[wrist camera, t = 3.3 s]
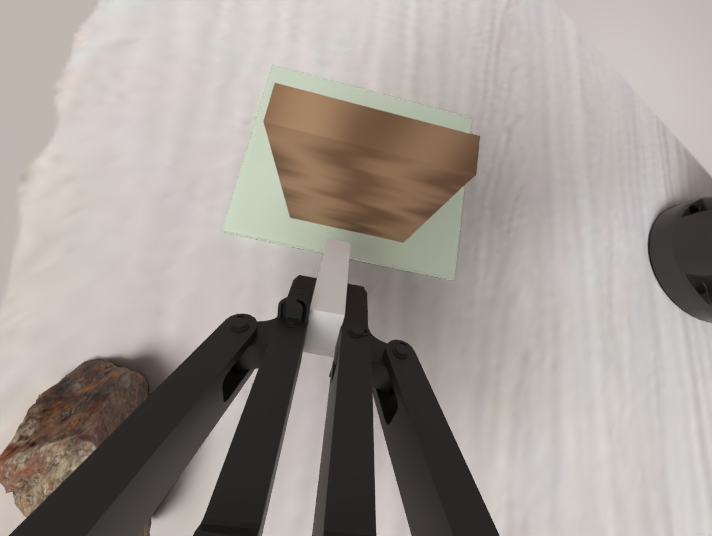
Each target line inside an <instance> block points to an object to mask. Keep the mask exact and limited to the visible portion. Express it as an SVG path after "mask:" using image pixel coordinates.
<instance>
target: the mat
mask: <svg viewBox="0 0 712 536" xmlns="http://www.w3.org/2000/svg"><path fill="white" fill-rule="evenodd" d="M275 83H278V84H282V85H286V86H290V87H294V88H297V89H301V90H305V91H309V92H313V93H316V94H320V95H324V96H328V97H332V98H336V99H339V100H343V101H347V102H351V103H355V104H359V105H362V106H366V107H370V108H374V109H378V110H381V111H385V112H389V113H393V114H397V115H401V116H404V117H408V118H412V119H416V120H420V121H423V122H427V123H431V124H435V125H439V126H443V127H446V128H450V129H454V130H458V131H462V132H466V133H469V134H471V125H472V118H470V117H467V116H463V115H459V114H456V113H452V112H448V111H444V110H441V109H437V108H433V107H429V106H426V105H422V104H418V103H414V102H411V101H407V100H403V99H399V98H396V97H392V96H388V95H384V94H381V93H377V92H373V91H369V90H366V89H362V88H358V87H354V86H351V85H347V84H343V83H339V82H336V81H332V80H328V79H325V78H321V77H317V76H313V75H310V74H306V73H302V72H298V71H295V70H291V69H287V68H283V67H280V66H276V65H272V67H271V70H270V73H269V77H268V80H267V83H266V86H265V90H264V93H263V96H262V100H261V103H260V106H259V110H258V113H257V116H256V120H255V123H254V126H253V130H252V133H251V136H250V140H249V143H248V146H247V150H246V153H245V156H244V159H243V163H242V166H241V169H240V173H239V176H238V179H237V183H236V186H235V189H234V193H233V196H232V199H231V203H230V206H229V209H228V213H227V216H226V219H225V223H224V226H223V229H222V231H223V232H224V233H228V234H233V235H237V236H242V237H247V238H252V239H256V240H261V241H266V242H271V243H275V244H280V245H285V246H290V247H294V248H299V249H304V250H309V251H313V252H318V253H323V252H324V248H325V244H326V240H327V238H329V239H334V240H339V241H344V242H349V243H351V245H350V257H349V259H351V260H356V261H361V262H366V263H370V264H375V265H380V266H385V267H389V268H394V269H399V270H404V271H408V272H413V273H418V274H423V275H427V276H432V277H437V278H442V279H446V280H454V279H455V271H456V261H457V252H458V243H459V234H460V225H461V216H462V207H463V198H464V189H465V185H464V186H463V187H462V188H461V189H460V190H459V191H458V192H457V193H456V194H455V195H454V196H452V197H451V198H450V199H449V200H448V201H447V202H446V203H445V204H444V205H443V206H442V207H441V208H440V209H439V210H438V211H437V212H436V213H434V214H433V215H432V216H431V217H430V218H429V219H428V220H427V221H426V222H425V223H424V224H423V225H422V226H421V227H420V228H419V229H418V230H416V231H415V232H414V233H413V234H412V235H411V236H410V237H409V238H408V239H407V240H406V241H405V242H404V243H403V242H398V241H394V240H389V239H384V238H380V237H375V236H371V235H366V234H362V233H357V232H353V231H348V230H344V229H339V228H334V227H330V226H325V225H321V224H316V223H312V222H307V221H303V220H298V219H293V218H290V216H289V212H288V209H287V205H286V202H285V198H284V194H283V191H282V187H281V183H280V180H279V176H278V173H277V169H276V165H275V162H274V158H273V155H272V151H271V147H270V144H269V140H268V136H267V133H266V129H265V126H264V122H263V121H264V118H265V114H266V111H267V107H268V104H269V101H270V97H271V94H272V90H273V87H274V84H275Z"/></svg>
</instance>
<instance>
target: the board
mask: <svg viewBox="0 0 712 536" xmlns="http://www.w3.org/2000/svg"><path fill="white" fill-rule="evenodd" d="M263 122H264V126H265V129H266V133H267V136H268V140H269V144H270V147H271V151H272V155H273V158H274V162H275V165H276V169H277V173H278V176H279V180H280V183H281V187H282V191H283V194H284V198H285V202H286V205H287V209H288V212H289V216H290V218H293V219H298V220H303V221H307V222H312V223H316V224H321V225H325V226H330V227H334V228H339V229H344V230H348V231H353V232H357V233H362V234H366V235H371V236H375V237H380V238H384V239H389V240H394V241H398V242H403V243H404V242H405V241H406V240H407V239H408V238H409V237H410V236H411V235H412V234H413V233H414V232H415V231H416V230H418V229H419V228H420V227H421V226H422V225H423V224H424V223H425V222H426V221H427V220H428V219H429V218H430V217H431V216H432V215H433V214H434V213H436V212H437V211H438V210H439V209H440V208H441V207H442V206H443V205H444V204H445V203H446V202H447V201H448V200H449V199H450V198H451V197H452V196H454V195H455V194H456V193H457V192H458V191H459V190H460V189H461V188H462V187H463V186H464V185H465V184H466V183H467V182H468V181H469V180H471V179H472V178H473V177H474V176H475V175H476V170H477V160H478V150H479V140H480V136H477V135H473V134H469V133H466V132H462V131H458V130H454V129H450V128H446V127H443V126H439V125H435V124H431V123H427V122H423V121H420V120H416V119H412V118H408V117H404V116H401V115H397V114H393V113H389V112H385V111H381V110H378V109H374V108H370V107H366V106H362V105H359V104H355V103H351V102H347V101H343V100H339V99H336V98H332V97H328V96H324V95H320V94H316V93H313V92H309V91H305V90H301V89H297V88H294V87H290V86H286V85H282V84H278V83H275V84H274V87H273V90H272V94H271V97H270V101H269V104H268V107H267V111H266V114H265V118H264V121H263Z"/></svg>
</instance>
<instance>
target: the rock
mask: <svg viewBox="0 0 712 536" xmlns="http://www.w3.org/2000/svg"><path fill="white" fill-rule="evenodd" d="M147 391H148V384H147V381H146V378H145V377H144V375H143V374H141V373H140V372H138V371H132V370H131V371H130V370H129V369H128V368H125V367H119V368H118V367H117V366H115V365H114V364H113V363H111V362H107V361H102V360H94V361H88V362H83V363H82V364H81V365H79V366H78V367H77V368H76V369H75V370H73V371H72V372H71V373H70V374H68V375H66V376H65V377H64V378H63V379H62V380H61V381H60V382H59V383H57V384H56V385H54V386H52V387H51V388H49V389H48V390H46V391H45V392H43V393H42V394H41V395H39V397H38V399H37V400H36V403H35V404H34V405H32V406H31V407H30V408H29V410H28V412H27V415H26V416H25V418H24V420H23V422H22V423H21V424H20V426H19V428H18V430H17V432H16V434H15V436H14V438H13V439H12V441H11V442H10V443H9V445H8V446H7V447H6V449H5V450H4V451H3V453H2V454H1V455H0V483H1V484H2V485H3V486H4V487H5V490H6V493H9V492H13V496H14V500H15V504H16V506H17V507H18V508H19V509H20V511H21V512H22V514H23V515H24V516H26V517H28V516H29V515H30V514H31V513H32V512H33V511H34V510H35V509H36V508H37V507H38V506H39V505H40V504H41V503H42V502H43V501H44V500H45V499H46V498H47V497H48V496H49V495H50V494H51V493H52V492H53V491H54V490H55V489H56V488H57V487H58V486H59V485H60V484H61V483H62V482H63V481H64V480H65V479H66V478H67V477H68V476H69V475H70V474H71V473H72V472H73V471H74V470H75V469H76V468H77V467H78V466H79V465H80V464H81V463H82V462H83V461H84V460H85V459H86V458H87V457H88V456H89V455H90V454H91V453H92V452H93V451H94V450H95V449H96V448H97V447H98V446H99V445H100V444H101V443H102V442H103V441H104V440H105V439H106V438H107V437H108V436H109V435H110V434H111V433H112V432H113V431H114V430H115V429H116V428H117V427H118V426H119V425H120V424H121V423H122V422H123V421H125V420H126V419H127V418H128V417H129V416H130V415H131V414H132V413H133V412H134V411H135V410H136V409H137V408H138V407H139V406H140V405H141V404H142V403H143V402H144V401H145V400H146V399H147V398H148V397H149V394H148V392H147ZM150 527H151V517H150V519H149V520H148V522H147V523H146V525H145V526H144V527H143V529H142V530H141V532H140V533H139V534H138V536H150V533H149V531H150Z"/></svg>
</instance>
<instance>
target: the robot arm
mask: <svg viewBox="0 0 712 536" xmlns="http://www.w3.org/2000/svg"><path fill="white" fill-rule="evenodd" d="M350 245H351V243H349V242H344V241H339V240H334V239H329V238H327V240H326V244H325V248H324V252H323V256H322V260H321V264H320V269H319V273H318V277H317V278H312V277H307V276H302V275H299V276H298V277H297V278H295V279H294V280H293V283H292V286H291V288H290V291H289V294H288V297H287V298H284V299H283V300H281V301H280V303H279V305H278V316H277V317H276V318H275V319H272V320H269V321H259V322H257V321H256V319H255V318H254V317H252V316H251V315H248V314H236V315H233V316H230V317H229V318H227V319H226V320H225V321H224V322H223V323H222V324H221V325H220V326H219V327H218V328H217V329H216V330H215V331H214V332H213V333H212V334H211V335H210V336H209V337H208V338H207V339H206V340H205V341H204V342H203V343H202V344H201V345H200V346H199V347H198V348H197V349H196V350H195V351H194V352H193V353H192V354H191V355H190V356H189V357H188V358H187V359H186V360H185V361H184V362H183V363H182V364H181V365H180V366H179V367H178V368H177V369H176V370H175V371H174V372H173V373H172V374H171V375H170V376H169V377H168V378H167V379H166V380H165V381H164V382H163V383H162V384H161V385H160V386H159V387H158V388H157V389H156V390H155V391H154V392H153V393H152V394H151V395H150V396H149V397H148V398H147V399H146V400H145V401H144V402H143V403H142V404H141V405H140V406H139V407H138V408H137V409H136V410H135V411H134V412H133V413H132V414H131V415H130V416H129V417H128V418H127V419H126V420H125V421H123V422H122V423H121V424H120V425H119V426H118V427H117V428H116V429H115V430H114V431H113V432H112V433H111V434H110V435H109V436H108V437H107V438H106V439H105V440H104V441H103V442H102V443H101V444H100V445H99V446H98V447H97V448H96V449H95V450H94V451H93V452H92V453H91V454H90V455H89V456H88V457H87V458H86V459H85V460H84V461H83V462H82V463H81V464H80V465H79V466H78V467H77V468H76V469H75V470H74V471H73V472H72V473H71V474H70V475H69V476H68V477H67V478H66V479H65V480H64V481H63V482H62V483H61V484H60V485H59V486H58V487H57V488H56V489H55V490H54V491H53V492H52V493H51V494H50V495H49V496H48V497H47V498H46V499H45V500H44V501H43V502H42V503H41V504H40V505H39V506H38V507H37V508H36V509H35V510H34V511H33V512H32V513H31V514H30V515H29V516H28V517H27V518H26V519H25V520H24V521H23V522H22V523H21V524H20V525H19V526H18V527H17V528H16V529H15V530H14V531H13V532H12V533H11V534H10V535H9V536H138V534H139V533H140V532H141V530H142V529H143V527H144V526H145V525H146V523H147V522H148V520H149V519H150V517H151V516H152V515H153V513H154V512H155V510H156V509H157V507H158V506H159V505H160V503H161V502H162V500H163V499H164V498H165V496H166V495H167V493H168V492H169V490H170V489H171V488H172V486H173V485H174V483H175V482H176V481H177V479H178V478H179V476H180V475H181V473H182V472H183V471H184V469H185V468H186V466H187V465H188V463H189V462H190V461H191V459H192V458H193V456H194V455H195V454H196V452H197V451H198V449H199V448H200V446H201V445H202V444H203V442H204V441H205V439H206V438H207V437H208V435H209V434H210V432H211V431H212V429H213V428H214V427H215V425H216V424H217V422H218V421H219V419H220V418H221V417H222V415H223V414H224V412H225V411H226V410H227V408H228V407H229V405H230V404H231V402H232V401H233V400H234V398H235V397H236V395H237V394H238V393H239V391H240V390H241V388H242V387H243V385H244V384H245V383H246V381H247V380H248V378H249V377H250V376H251V374H252V373H253V371H254V369H257V368H259V369H258V372H257V375H256V377H255V380H254V383H253V385H252V388H251V391H250V394H249V396H248V399H247V402H246V405H245V407H244V410H243V413H242V415H241V418H240V421H239V424H238V426H237V429H236V432H235V434H234V437H233V440H232V443H231V445H230V448H229V451H228V453H227V456H226V459H225V462H224V464H223V467H222V470H221V472H220V475H219V478H218V481H217V483H216V486H215V489H214V492H213V494H212V497H211V500H210V502H209V505H208V508H207V511H206V513H205V516H204V518H203V520H202V522H201V524H200V525H199V527H198V528H197V529H196V531H195V533H194V535H193V536H262V533H263V528H264V524H265V519H266V515H267V511H268V506H269V502H270V497H271V493H272V488H273V484H274V479H275V475H276V470H277V466H278V461H279V457H280V453H281V448H282V444H283V439H284V435H285V430H286V426H287V421H288V417H289V412H290V408H291V403H292V399H293V395H294V390H295V386H296V381H297V377H298V372H299V368H300V363H301V358H302V353H303V352H307V353H313V354H319V355H325V356H331V357H334V361H333V364H332V368H331V372H330V375H329V377H331V378H330V387H329V395H328V404H327V413H326V421H325V430H324V438H323V447H322V455H321V464H320V473H319V481H318V490H317V498H316V507H315V515H314V524H313V533H312V536H376V513H375V474H374V435H373V396H374V400H375V403H376V407H377V411H378V414H379V418H380V422H381V425H382V429H383V433H384V436H385V440H386V444H387V447H388V451H389V455H390V458H391V462H392V465H393V469H394V473H395V476H396V480H397V484H398V487H399V491H400V495H401V498H402V502H403V506H404V509H405V513H406V517H407V520H408V524H409V528H410V531H411V535H412V536H499V534H498V531H497V529H496V527H495V525H494V523H493V521H492V518H491V516H490V514H489V512H488V510H487V508H486V505H485V503H484V501H483V499H482V497H481V494H480V492H479V490H478V488H477V486H476V484H475V481H474V479H473V477H472V475H471V473H470V471H469V468H468V466H467V464H466V462H465V460H464V458H463V455H462V453H461V451H460V449H459V447H458V445H457V442H456V440H455V438H454V436H453V434H452V431H451V429H450V427H449V425H448V423H447V421H446V418H445V416H444V414H443V412H442V410H441V408H440V405H439V403H438V401H437V399H436V397H435V395H434V392H433V390H432V388H431V386H430V384H429V382H428V379H427V377H426V375H425V373H424V371H423V369H422V366H421V364H420V362H419V360H418V358H417V355H416V353H415V351H414V350H413V348H412V347H411V346H410V345H409V344H408V343H406V342H404V341H401V340H392V341H390V342H389V343H388V344H387V343H385V342H383V341H380V340H378V339H377V338H375V337H374V336H373V335H372V334H371V333H370V330H369V329H368V311H367V292H366V290H365V289H364V287H362V286H357V285H352V284H347V281H348V269H349V257H350ZM650 257H651V262H652V266H653V269H654V272H655V274H656V276H657V278H658V280H659V282H660V284H661V286H662V287H663V289H664V290H665V292H666V293H667V295H668V296H669V297H670V298H671V299H672V300H673V301H674V302H675V303H676V304H677V305H678V306H679V307H680V308H681V309H682V310H684V311H685V312H687V313H688V314H690V315H691V316H693V317H695V318H698V319H700V320H703V321H706V322H711V323H712V197H704V198H699V199H694V200H691V201H688V202H685V203H682V204H679V205H676V206H673V207H671V208H669V209H667V210H665V211H664V212H663V213H662V214H661V215H660V216H659V217H658V218H657V220H656V222H655V223H654V226H653V228H652V231H651V235H650ZM372 393H373V396H372Z"/></svg>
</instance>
